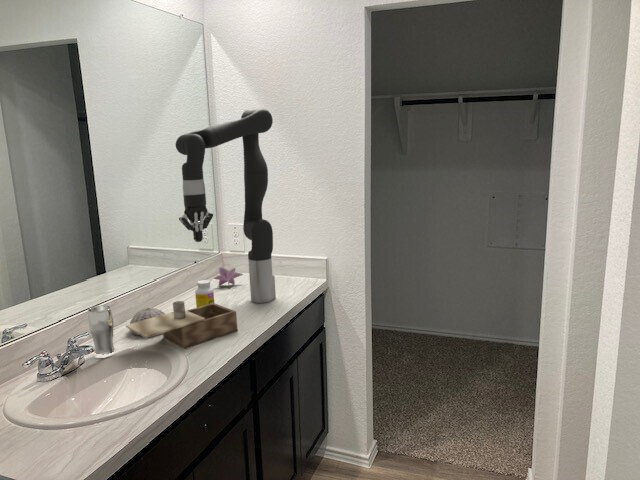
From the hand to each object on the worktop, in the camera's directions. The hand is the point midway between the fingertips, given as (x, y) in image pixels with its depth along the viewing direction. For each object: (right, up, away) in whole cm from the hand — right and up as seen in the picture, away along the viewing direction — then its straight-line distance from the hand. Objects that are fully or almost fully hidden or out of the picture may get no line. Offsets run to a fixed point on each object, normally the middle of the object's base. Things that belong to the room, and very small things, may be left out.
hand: (198, 241), depth 180 cm
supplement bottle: (0, -28, +11) cm, 30 cm away
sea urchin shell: (-16, -31, -4) cm, 35 cm away
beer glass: (-23, -35, -23) cm, 48 cm away
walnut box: (+3, -31, -9) cm, 33 cm away
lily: (+2, -21, +47) cm, 51 cm away
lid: (-6, -26, -19) cm, 32 cm away
